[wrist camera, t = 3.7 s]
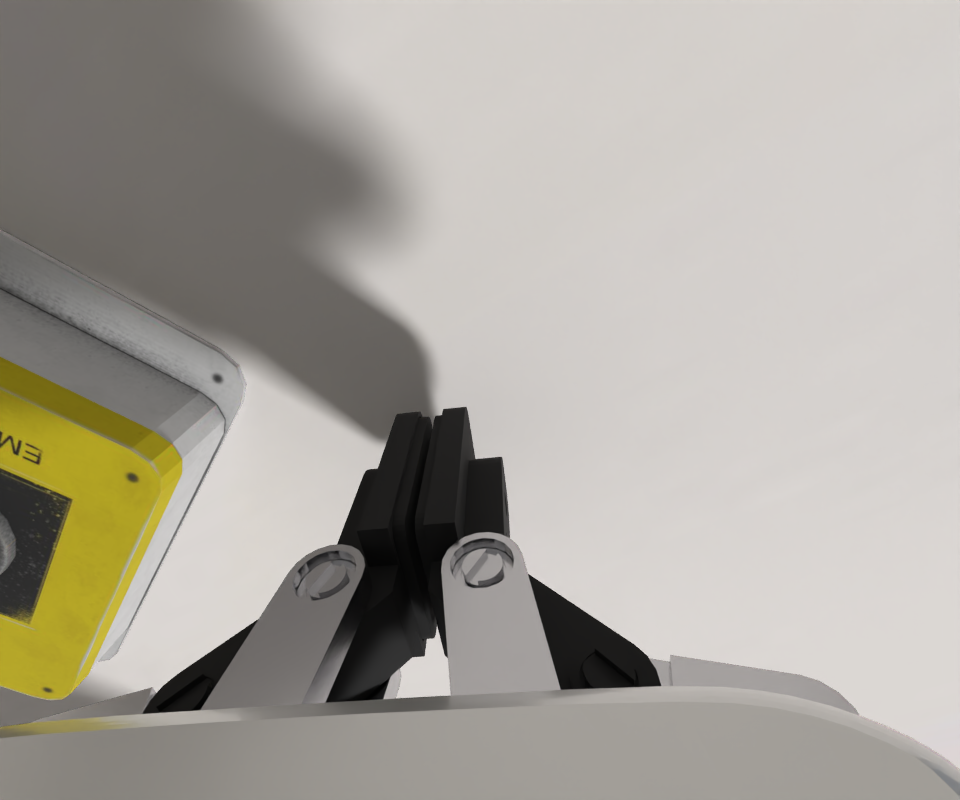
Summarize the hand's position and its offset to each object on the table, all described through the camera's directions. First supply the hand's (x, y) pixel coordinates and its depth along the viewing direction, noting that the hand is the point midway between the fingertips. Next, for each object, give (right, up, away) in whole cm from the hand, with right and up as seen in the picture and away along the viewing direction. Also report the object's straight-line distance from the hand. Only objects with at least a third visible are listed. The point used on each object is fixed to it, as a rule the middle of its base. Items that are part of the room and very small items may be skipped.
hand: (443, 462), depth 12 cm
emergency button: (-13, 0, +3) cm, 13 cm away
